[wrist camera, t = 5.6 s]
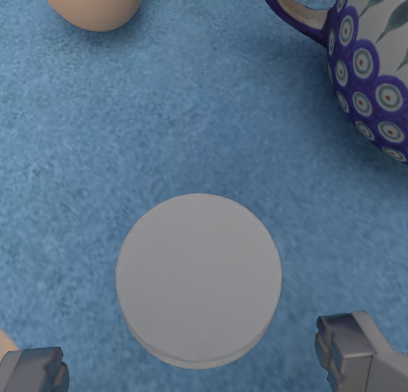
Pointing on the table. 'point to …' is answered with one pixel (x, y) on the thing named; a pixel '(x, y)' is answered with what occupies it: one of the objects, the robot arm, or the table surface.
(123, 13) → the egg
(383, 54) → the teapot
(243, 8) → the table surface
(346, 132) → the table surface
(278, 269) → the pill bottle
